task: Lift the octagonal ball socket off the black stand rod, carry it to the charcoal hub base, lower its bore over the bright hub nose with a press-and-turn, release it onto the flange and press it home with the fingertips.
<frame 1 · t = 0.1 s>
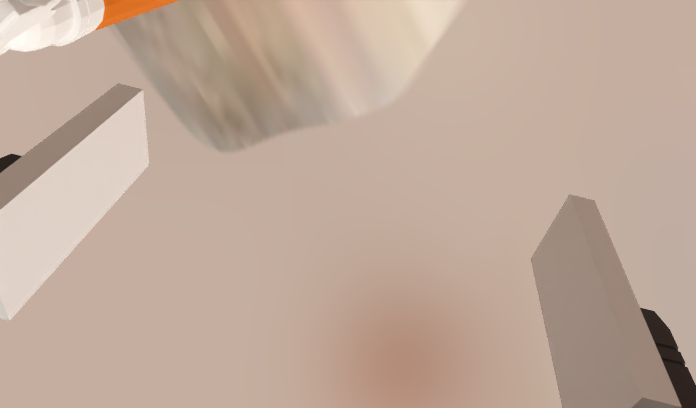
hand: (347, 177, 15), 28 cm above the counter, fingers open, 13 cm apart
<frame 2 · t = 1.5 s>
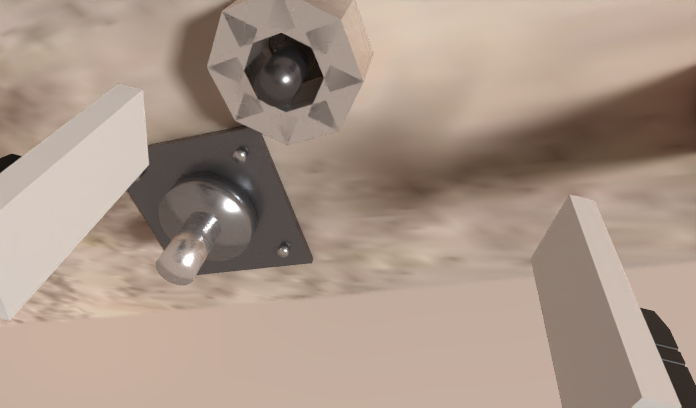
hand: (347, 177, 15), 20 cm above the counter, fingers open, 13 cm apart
hub: (215, 207, 43), on the counter
stand rod: (303, 47, 33), on the counter
octagonal ball socket: (303, 47, 33), on the counter
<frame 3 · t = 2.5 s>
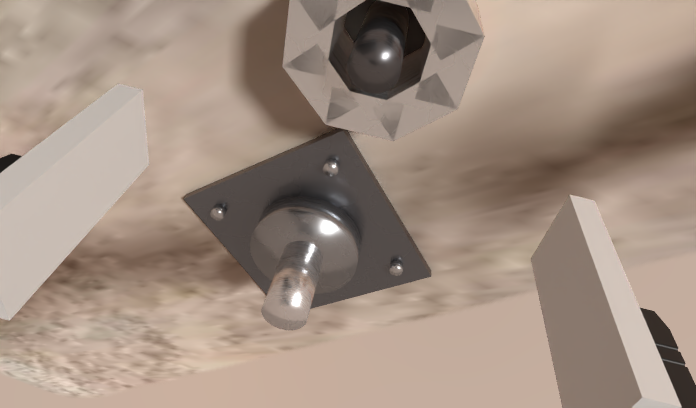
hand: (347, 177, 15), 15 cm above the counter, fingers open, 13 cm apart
hub: (310, 233, 37), on the counter
stand rod: (387, 20, 27), on the counter
octagonal ball socket: (387, 20, 27), on the counter
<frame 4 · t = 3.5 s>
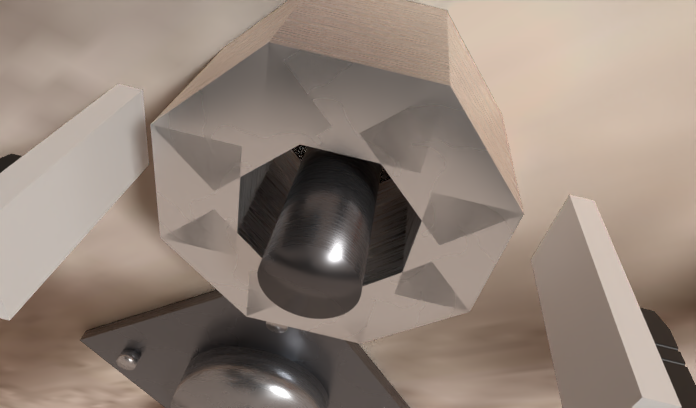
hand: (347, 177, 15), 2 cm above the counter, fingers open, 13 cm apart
hub: (260, 381, 27), on the counter
stand rod: (352, 131, 16), on the counter
octagonal ball socket: (352, 131, 16), on the counter
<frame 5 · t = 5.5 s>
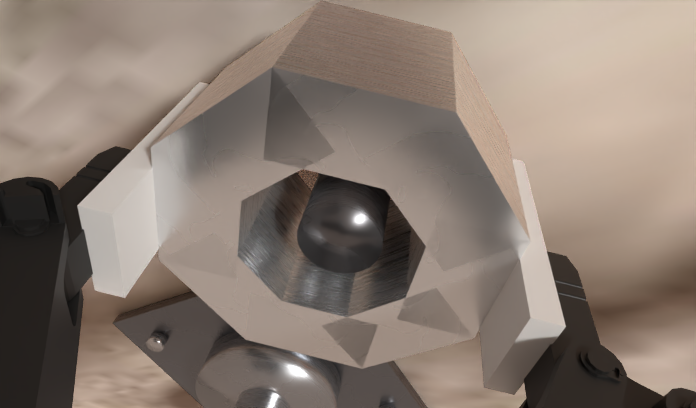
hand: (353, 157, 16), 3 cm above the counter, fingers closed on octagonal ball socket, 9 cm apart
hub: (277, 365, 29), on the counter
stand rod: (370, 127, 19), on the counter
octagonal ball socket: (354, 151, 16), point 3 cm above the counter, touching gripper
when the fingers open (3 cm above the counter, at t = 10.4 s): octagonal ball socket stays where it is, resting on hub.
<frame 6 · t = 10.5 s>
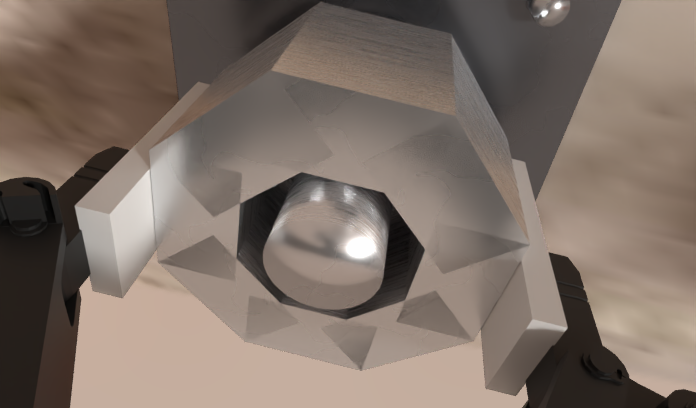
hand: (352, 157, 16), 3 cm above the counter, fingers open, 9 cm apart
hub: (364, 117, 18), on the counter
octagonal ball socket: (354, 152, 16), point 3 cm above the counter, touching hub
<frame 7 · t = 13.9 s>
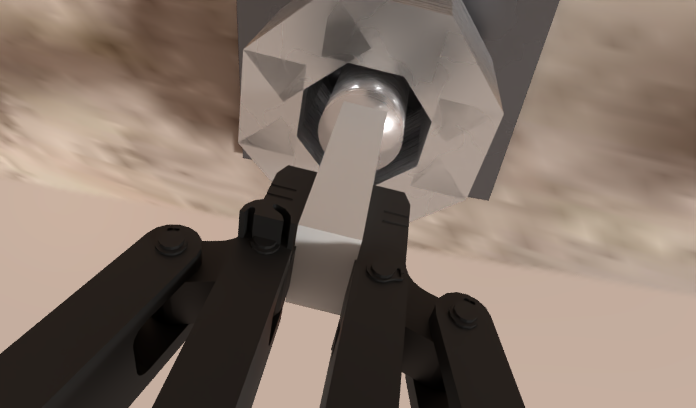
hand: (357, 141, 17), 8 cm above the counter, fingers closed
hub: (382, 53, 23), on the counter
octagonal ball socket: (377, 75, 21), point 3 cm above the counter, touching hub
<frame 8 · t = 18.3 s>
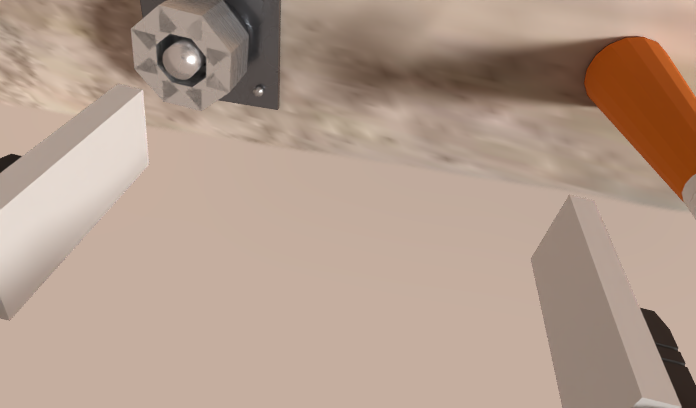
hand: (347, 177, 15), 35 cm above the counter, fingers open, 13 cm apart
spray bottle: (632, 53, 44), on the counter
hub: (212, 34, 49), on the counter
octagonal ball socket: (203, 42, 47), point 3 cm above the counter, touching hub
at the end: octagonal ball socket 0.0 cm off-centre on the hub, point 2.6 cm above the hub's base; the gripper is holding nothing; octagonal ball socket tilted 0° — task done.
